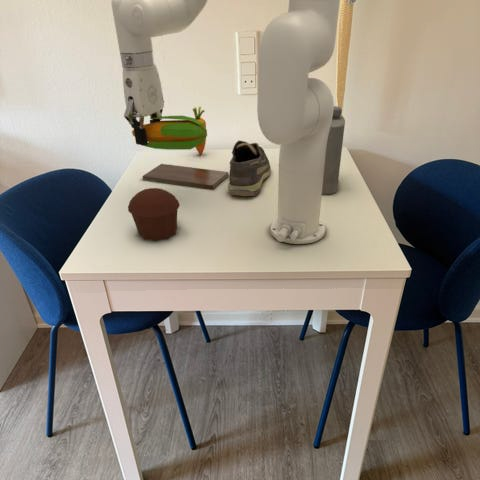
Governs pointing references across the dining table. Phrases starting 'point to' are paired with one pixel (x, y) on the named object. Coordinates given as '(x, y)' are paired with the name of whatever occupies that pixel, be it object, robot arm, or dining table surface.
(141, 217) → the muffin
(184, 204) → the dining table surface
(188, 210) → the dining table surface
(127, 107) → the robot arm
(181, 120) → the corn
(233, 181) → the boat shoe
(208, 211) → the dining table surface
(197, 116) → the carrot
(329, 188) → the flask
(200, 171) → the board
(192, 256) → the dining table surface
